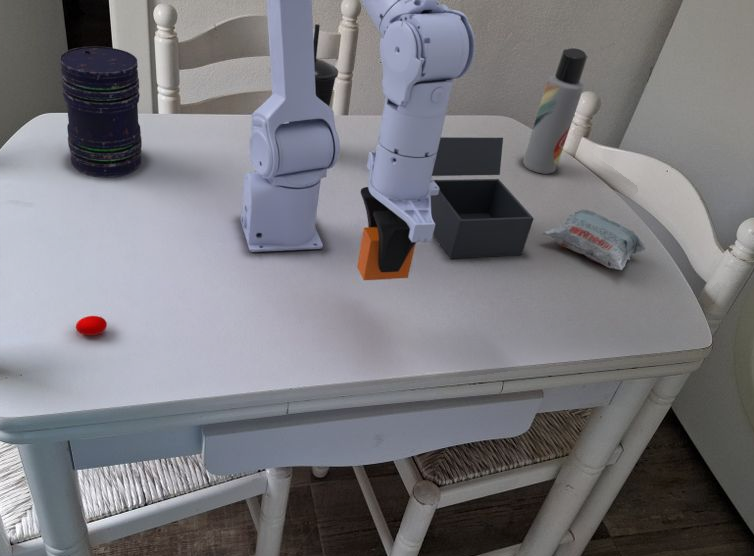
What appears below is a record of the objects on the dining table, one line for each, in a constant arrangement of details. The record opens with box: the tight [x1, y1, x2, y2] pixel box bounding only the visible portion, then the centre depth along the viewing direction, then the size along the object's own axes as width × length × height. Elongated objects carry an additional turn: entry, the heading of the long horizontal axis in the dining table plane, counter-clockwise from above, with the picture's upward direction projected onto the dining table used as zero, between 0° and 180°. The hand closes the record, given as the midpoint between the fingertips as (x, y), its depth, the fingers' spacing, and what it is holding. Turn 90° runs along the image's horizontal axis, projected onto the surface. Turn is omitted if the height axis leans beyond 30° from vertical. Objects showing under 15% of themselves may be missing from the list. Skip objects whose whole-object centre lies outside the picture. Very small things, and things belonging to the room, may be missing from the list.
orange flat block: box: [356, 226, 417, 281], centre depth 74 cm, size 5×2×5 cm, turn 106°
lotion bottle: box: [522, 47, 588, 175], centre depth 115 cm, size 6×6×20 cm
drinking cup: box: [288, 23, 339, 123], centre depth 108 cm, size 8×8×20 cm
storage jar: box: [59, 46, 143, 178], centre depth 98 cm, size 10×10×15 cm
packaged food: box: [542, 209, 646, 271], centre depth 99 cm, size 9×12×5 cm
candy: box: [75, 315, 108, 336], centre depth 72 cm, size 3×2×2 cm, turn 103°
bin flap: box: [432, 136, 504, 177], centre depth 99 cm, size 5×11×1 cm
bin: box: [431, 178, 535, 260], centre depth 98 cm, size 11×11×6 cm
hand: (384, 261), depth 75 cm, fingers closed on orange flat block, 2 cm apart
